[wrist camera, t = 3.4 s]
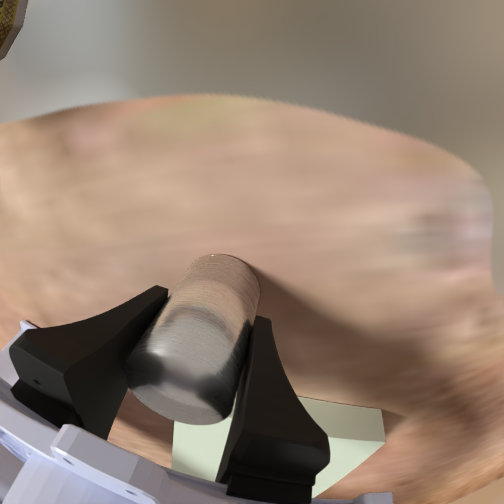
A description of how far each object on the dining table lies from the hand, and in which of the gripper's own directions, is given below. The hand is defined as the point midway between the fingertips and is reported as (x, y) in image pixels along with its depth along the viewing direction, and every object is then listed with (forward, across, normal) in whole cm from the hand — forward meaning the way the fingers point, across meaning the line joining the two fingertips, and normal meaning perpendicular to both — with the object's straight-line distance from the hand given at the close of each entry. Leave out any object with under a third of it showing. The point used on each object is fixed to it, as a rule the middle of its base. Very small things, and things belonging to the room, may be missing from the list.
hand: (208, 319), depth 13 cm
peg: (+3, 0, 0) cm, 3 cm away
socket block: (+3, -6, +14) cm, 15 cm away
